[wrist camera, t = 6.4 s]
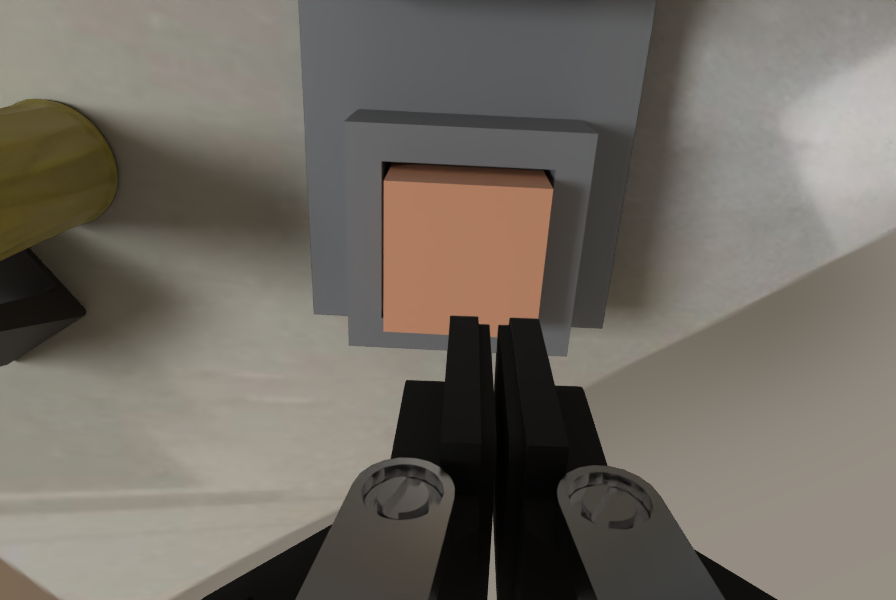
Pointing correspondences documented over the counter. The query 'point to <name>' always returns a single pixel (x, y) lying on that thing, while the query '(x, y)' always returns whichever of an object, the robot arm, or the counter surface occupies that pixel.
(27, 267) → the phone stand
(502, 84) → the button panel
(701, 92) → the counter surface
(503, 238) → the terracotta button
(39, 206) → the vase
